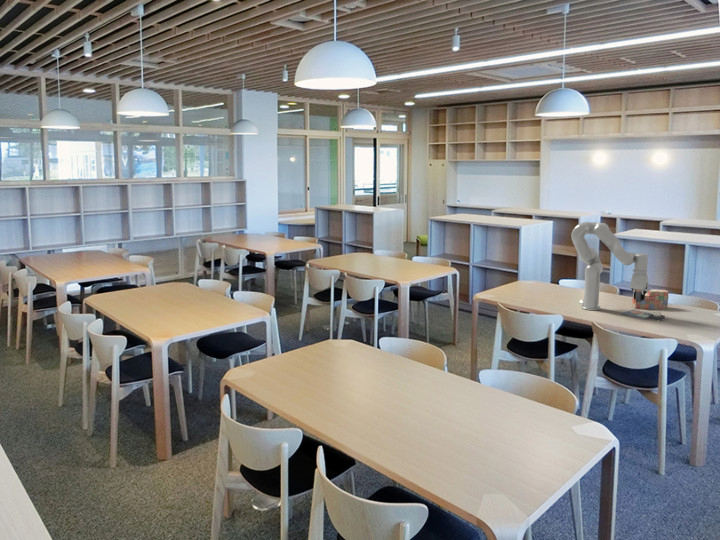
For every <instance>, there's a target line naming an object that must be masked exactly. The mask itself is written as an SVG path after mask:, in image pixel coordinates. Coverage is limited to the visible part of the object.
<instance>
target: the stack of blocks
mask: <svg viewBox="0 0 720 540" xmlns="http://www.w3.org/2000/svg"><path fill="white" fill-rule="evenodd" d="M669 292H670V291H668V290H666V289H650V291H649V292H647V293H646V294H645V299H644V300H643V302H636V301H635V299H634V293H633V294H632V304H631V307H633V308H634V309H643V310H644V309H648V310H649V309H650V310H651V309H656V310H658V309H662V310H663V308H665V309H664V310H666V309H668V303H669V296H670V295H669Z"/></svg>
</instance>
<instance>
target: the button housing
mask: <svg viewBox="0 0 720 540" xmlns="http://www.w3.org/2000/svg"><path fill="white" fill-rule="evenodd" d="M651 314H652V315H649V318H648V319H649V320H652V319H653V320H654V321H657V320H660V321H663V319H664V320H666V319H665V318H666V315H663V314H661V316H660V317H657V316H653V313H651Z"/></svg>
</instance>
